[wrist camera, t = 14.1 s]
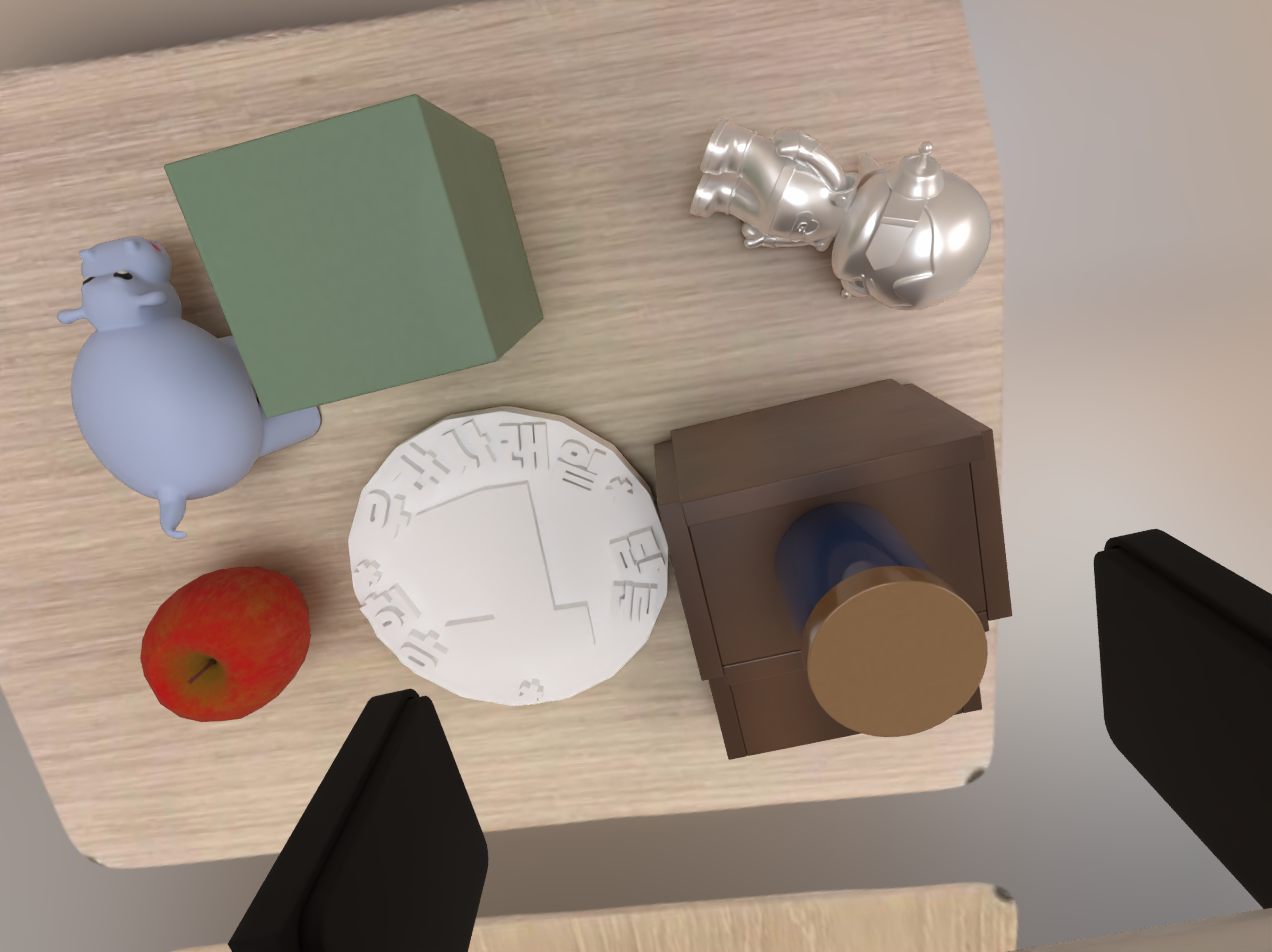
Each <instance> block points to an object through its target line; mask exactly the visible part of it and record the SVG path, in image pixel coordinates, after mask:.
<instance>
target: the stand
mask: <svg viewBox="0 0 1272 952" xmlns="http://www.w3.org/2000/svg"><path fill="white" fill-rule="evenodd" d="M164 169H165V171H166V174H167V176H168V178H169V181H170V183H171V186H172V188H173V191H174V193H175V196H176V198H177V201H178V203H179V205H180V208H181V210H182V213H183V215H184V218H185V220H186V223H187V225H188V228H189V230H190V232H191V235H192V237H193V240H194V242H195V245H196V247H197V250H198V252H199V254H200V257H201V259H202V262H203V264H204V267H205V269H206V272H207V274H208V277H209V279H210V281H211V284H212V286H213V289H214V291H215V294H216V296H217V299H218V301H219V303H220V306H221V308H222V311H223V313H224V316H225V318H226V321H227V323H228V326H229V328H230V330H231V333H232V335H233V338H234V340H235V343H236V345H237V348H238V350H239V353H240V355H241V357H242V360H243V362H244V365H245V367H246V370H247V372H248V375H249V377H250V379H251V382H252V384H253V387H254V389H255V392H256V394H257V397H258V399H259V402H260V404H261V406H262V409H263V411H264V414H265V416H266V418H271V417H275V416H279V415H283V414H287V413H291V412H295V411H299V410H303V409H307V408H311V407H315V406H319V405H323V404H327V403H331V402H335V401H339V400H343V399H347V398H351V397H355V396H359V395H363V394H367V393H371V392H375V391H379V390H383V389H387V388H391V387H395V386H399V385H403V384H407V383H411V382H415V381H419V380H423V379H427V378H431V377H435V376H439V375H443V374H447V373H451V372H455V371H459V370H463V369H467V368H471V367H475V366H479V365H483V364H487V363H491V362H495V361H497V360H498V359H499V358H501V357H502V356H503V355H504V354H505V353H506V352H507V351H508V350H509V349H510V348H511V347H513V346H514V345H515V344H516V343H517V342H518V341H519V340H520V339H521V338H522V337H524V336H525V335H526V334H527V333H528V332H529V331H530V330H531V329H532V328H533V327H534V326H536V325H537V324H538V323H539V322H540V321H541V320H542V319H543V314H542V311H541V307H540V304H539V300H538V297H537V293H536V289H535V286H534V282H533V279H532V275H531V272H530V268H529V265H528V261H527V257H526V254H525V250H524V247H523V243H522V240H521V236H520V233H519V229H518V225H517V222H516V218H515V215H514V211H513V208H512V204H511V201H510V197H509V193H508V190H507V186H506V183H505V179H504V176H503V172H502V168H501V165H500V161H499V158H498V154H497V151H496V147H495V144H494V141H493V139H491V138H489V137H487V136H486V135H484V134H482V133H481V132H479V131H477V130H476V129H474V128H472V127H471V126H469V125H467V124H465V123H464V122H462V121H460V120H459V119H457V118H455V117H454V116H452V115H450V114H449V113H447V112H445V111H443V110H442V109H440V108H438V107H437V106H435V105H433V104H432V103H430V102H428V101H427V100H425V99H423V98H422V97H420V96H418V95H416V94H414V95H410V96H407V97H403V98H399V99H396V100H392V101H389V102H385V103H382V104H378V105H375V106H371V107H368V108H364V109H361V110H357V111H353V112H350V113H346V114H343V115H339V116H336V117H332V118H329V119H325V120H322V121H318V122H315V123H311V124H307V125H304V126H300V127H297V128H293V129H290V130H286V131H283V132H279V133H276V134H272V135H268V136H265V137H261V138H258V139H254V140H251V141H247V142H244V143H240V144H237V145H233V146H230V147H226V148H222V149H219V150H215V151H212V152H208V153H205V154H201V155H198V156H194V157H191V158H187V159H184V160H180V161H176V162H173V163H169V164H166V165H164Z"/></svg>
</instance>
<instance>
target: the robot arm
mask: <svg viewBox="0 0 1272 952" xmlns="http://www.w3.org/2000/svg"><path fill="white" fill-rule="evenodd" d="M1094 575H1095V588H1096V604H1097V618H1098V634H1099V649H1100V662H1101V677H1102V693H1103V707H1104V720H1105V725H1106V728H1107V731H1108V733H1109V736H1110V738H1111V739H1112V741H1113V743H1114V744H1115V745H1116V747H1117V748H1118V750H1119V751H1120V752H1121V753H1122V754H1123V755H1124V756H1125V757H1126V758H1127V760H1128V761H1129V762H1130V763H1131V764H1132V765H1133V766H1134V767H1135V768H1136V769H1137V771H1139V773H1140V774H1141V775H1142V776H1143V777H1144V778H1145V779H1146V780H1147V781H1148V782H1149V784H1150V785H1151V786H1152V787H1153V788H1154V789H1155V790H1156V791H1157V792H1158V793H1159V795H1160V796H1161V797H1162V798H1163V799H1164V800H1165V801H1166V802H1167V803H1168V804H1169V806H1171V808H1172V809H1173V810H1174V811H1175V812H1176V813H1177V814H1178V815H1179V817H1181V819H1182V820H1183V821H1184V822H1185V823H1186V824H1187V825H1188V826H1189V827H1190V828H1191V830H1192V831H1193V832H1194V833H1195V834H1196V835H1197V836H1198V837H1199V838H1200V839H1201V841H1202V842H1203V843H1204V844H1205V845H1206V846H1207V847H1208V848H1209V849H1210V851H1211V852H1212V853H1213V854H1214V855H1215V856H1216V857H1217V858H1218V859H1219V860H1220V861H1221V863H1222V864H1223V865H1224V866H1225V867H1226V868H1227V869H1228V870H1229V871H1230V872H1231V873H1232V875H1234V877H1235V878H1236V879H1237V880H1238V881H1239V882H1240V883H1241V884H1242V885H1243V887H1245V889H1246V890H1247V891H1248V892H1249V893H1250V894H1251V895H1252V896H1253V898H1254V899H1255V900H1256V901H1257V902H1258V903H1259V904H1260V905H1261V906H1262V907H1263V909H1262V910H1255V911H1249V912H1242V913H1236V914H1230V915H1224V916H1218V917H1213V918H1206V919H1200V920H1194V921H1188V922H1183V923H1176V924H1170V925H1165V926H1158V927H1152V928H1146V929H1140V930H1134V931H1128V932H1122V933H1117V934H1110V935H1104V936H1098V937H1092V938H1086V939H1080V940H1074V941H1068V942H1062V943H1056V944H1050V945H1044V946H1038V947H1033V948H1026V949H1020V950H1014V951H1008V952H1272V594H1270V593H1268V592H1267V591H1265V590H1263V589H1261V588H1260V587H1258V586H1256V585H1255V584H1253V583H1251V582H1249V581H1248V580H1246V579H1244V578H1243V577H1241V576H1239V575H1237V574H1236V573H1234V572H1232V571H1231V570H1229V569H1227V568H1225V567H1224V566H1222V565H1220V564H1219V563H1217V562H1215V561H1213V560H1211V559H1210V558H1208V557H1206V556H1205V555H1203V554H1201V553H1200V552H1198V551H1196V550H1195V549H1193V548H1191V547H1189V546H1188V545H1186V544H1184V543H1182V542H1181V541H1179V540H1177V539H1175V538H1174V537H1172V536H1170V535H1169V534H1167V533H1165V532H1164V531H1161V530H1158V529H1151V530H1147V531H1142V532H1138V533H1133V534H1128V535H1124V536H1119V537H1114V538H1110V539H1109V540H1108V541H1107V542H1106V545H1105V548H1104V551H1101V552H1098V553H1097V554H1096V555H1095V558H1094ZM487 869H488V850H487V844H486V841H485V838H484V835H483V832H482V830H481V827H480V825H479V822H478V819H477V817H476V814H475V812H474V809H473V806H472V804H471V801H470V799H469V796H468V793H467V791H466V788H465V786H464V783H463V780H462V778H461V775H460V773H459V770H458V767H457V765H456V762H455V760H454V757H453V754H452V752H451V749H450V746H449V744H448V741H447V739H446V736H445V733H444V731H443V728H442V726H441V723H440V720H439V718H438V715H437V713H436V710H435V707H434V705H433V703H432V701H431V699H430V698H429V697H427V696H422V697H419V695H418V694H417V692H416V691H415V690H413V689H407V690H402V691H397V692H393V693H388V694H383V695H379V696H375V697H372V698H371V699H370V700H369V701H368V703H367V704H366V706H365V708H364V710H363V711H362V713H361V715H360V717H359V718H358V720H357V722H356V723H355V725H354V727H353V729H352V730H351V732H350V734H349V736H348V737H347V739H346V741H345V742H344V744H343V746H342V748H341V749H340V751H339V753H338V755H337V756H336V758H335V760H334V761H333V763H332V765H331V767H330V768H329V770H328V772H327V774H326V775H325V777H324V779H323V780H322V782H321V784H320V786H319V787H318V789H317V791H316V793H315V794H314V796H313V798H312V799H311V801H310V803H309V805H308V806H307V808H306V810H305V812H304V813H303V815H302V817H301V818H300V820H299V822H298V824H297V825H296V827H295V829H294V831H293V832H292V834H291V836H290V837H289V839H288V841H287V843H286V844H285V846H284V848H283V850H282V851H281V853H280V855H279V856H278V858H277V860H276V862H275V863H274V865H273V867H272V869H271V870H270V872H269V874H268V875H267V877H266V879H265V881H264V882H263V884H262V886H261V888H260V889H259V891H258V893H257V895H256V896H255V898H254V900H253V901H252V903H251V905H250V907H249V908H248V910H247V912H246V913H245V915H244V917H243V919H242V920H241V922H240V924H239V926H238V927H237V929H236V931H235V933H234V934H233V936H232V938H231V939H230V941H229V943H228V945H229V947H230V949H231V951H232V952H468V948H469V944H470V940H471V936H472V932H473V927H474V923H475V919H476V915H477V911H478V906H479V903H480V898H481V894H482V890H483V886H484V881H485V878H486V873H487Z"/></svg>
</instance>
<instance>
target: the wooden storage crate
mask: <svg viewBox="0 0 1272 952" xmlns="http://www.w3.org/2000/svg"><path fill="white" fill-rule="evenodd" d="M671 435H672V440H671V441H667V442H663V443H659V444H655V445H654V449H655V468H656V486H657V504H658V510H659V514H660V518H661V522H662V526H663V530H664V534H665V538H666V542H667V545H668V549H669V553H670V557H671V561H672V565H673V569H674V573H675V577H676V581H677V585H678V589H679V593H680V597H681V600H682V604H683V608H684V612H685V616H686V620H687V624H688V628H689V632H690V636H691V640H692V644H693V648H694V651H695V655H696V659H697V663H698V667H699V671H700V675H701V679H702V681H703V680H709V684H710V688H711V692H712V696H713V699H714V703H715V707H716V711H717V715H718V719H719V723H720V727H721V731H722V735H723V739H724V743H725V747H726V751H727V755H728V759H729V760H730V759H735V758H740V757H745V756H750V755H755V754H760V753H765V752H770V751H775V750H780V749H785V748H790V747H795V746H800V745H805V744H810V743H815V742H820V741H825V740H830V739H835V738H840V737H845V736H850V735H855V734H860V732H857V731H854V730H852V729H850V728H847V727H845V726H844V725H842V724H840V723H839V722H837V721H836V720H835V719H833V718H832V717H831V716H830V715H829V714H827V712H826V711H825V710H824V709H823V708H822V707H821V705H820V704H819V702H818V701H817V699H816V698H815V696H814V693H813V691H812V689H811V686H810V684H809V681H808V678H807V676H806V673H805V670H804V666H803V663H802V656H801V645H800V643H799V640H798V637H797V635H796V632H795V630H794V627H793V624H792V622H791V619H790V616H789V614H788V611H787V608H786V606H785V603H784V601H783V598H782V595H781V593H780V590H779V587H778V585H777V581H776V578H775V570H774V566H775V556H776V552H777V549H778V546H779V544H780V541H781V539H782V538H783V536H784V534H785V533H786V531H787V530H788V529H789V528H790V527H791V525H792V524H794V523H795V522H796V521H797V520H798V519H799V518H800V517H802V516H803V515H805V514H806V513H808V512H810V511H812V510H814V509H816V508H818V507H821V506H824V505H828V504H833V503H845V502H847V503H857V504H861V505H865V506H868V507H871V508H873V509H875V510H877V511H879V512H880V513H882V514H883V515H885V516H886V517H887V518H888V519H889V520H890V521H891V522H892V523H893V524H894V525H895V527H896V528H897V529H898V530H899V531H900V532H901V534H902V535H903V536H904V537H905V538H906V540H907V541H908V542H909V543H910V544H911V545H912V547H913V548H914V549H915V550H916V551H917V553H918V554H919V555H920V556H921V557H922V558H923V560H924V561H925V562H926V563H927V564H928V565H929V567H930V568H931V569H932V570H933V571H934V573H935V574H936V575H937V576H938V577H940V578H942V579H943V580H945V581H946V582H948V583H949V584H950V585H951V586H952V587H953V588H954V589H956V590H957V591H958V593H959V594H960V595H961V596H962V597H963V598H964V600H965V601H966V602H967V603H968V604H969V605H970V607H971V608H972V609H973V610H974V612H975V613H976V614H977V616H978V618H979V619H980V621H981V623H982V626H983V628H984V631H985V632H987V631H989V625H988V620H989V621H990V620H995V619H1000V618H1005V617H1009V616H1012V609H1011V600H1010V591H1009V581H1008V572H1007V562H1006V553H1005V543H1004V534H1003V524H1002V515H1001V506H1000V496H999V487H998V477H997V468H996V459H995V449H994V440H993V430H992V429H991V428H989V427H987V426H985V425H984V424H982V423H980V422H978V421H977V420H975V419H973V418H971V417H970V416H968V415H966V414H964V413H963V412H961V411H959V410H957V409H956V408H954V407H952V406H951V405H949V404H947V403H945V402H944V401H942V400H940V399H938V398H937V397H935V396H933V395H931V394H930V393H928V392H926V391H924V390H923V389H921V388H919V387H918V386H916V385H914V384H909V385H904V386H902V385H901V384H899V383H897V382H896V381H894V380H892V379H888V380H884V381H879V382H875V383H871V384H867V385H863V386H858V387H854V388H850V389H846V390H841V391H837V392H833V393H829V394H825V395H820V396H816V397H812V398H808V399H803V400H799V401H795V402H791V403H787V404H782V405H778V406H774V407H770V408H766V409H761V410H757V411H753V412H749V413H744V414H740V415H736V416H732V417H728V418H723V419H719V420H715V421H711V422H707V423H702V424H698V425H694V426H690V427H685V428H681V429H677V430H673V431H671ZM981 709H982V703H981V695H980V687H979V686H978V688H977V689H976V691H975V693H974V694H973V695H972V697H971V698H970V699H969V701H968V702H967V703H966V704H965V705H964V706H963V707H962V708H961V709H960V710H959V711H958V712H956V713H955V714H954V715H956V714H961V713H962V712H963V713H966V712H971V711H976V710H981Z"/></svg>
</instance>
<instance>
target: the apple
mask: <svg viewBox="0 0 1272 952" xmlns="http://www.w3.org/2000/svg"><path fill="white" fill-rule="evenodd" d="M310 637H311V634H310V625H309V612H308V607H307V605H306V602H305V600H304V597H303V595H302V593H301V592H300V590H299V589H298V588H297V586H296V585H295V584H294V583H293V581H292V580H291V579H289V578H288V577H286V576H285V575H283V574H281V573H279V572H275V571H271V570H267V569H263V568H260V567H237V568H228V569H220V570H217V571H214V572H210V573H207V574H204V575H202V576H200V577H198V578H197V579H195V580H193V581H192V582H190V583H188V584H187V585H185V586H183V587H182V588H180V589H178V590H177V591H176V592H175V593H174V594H173V595H172V596H171V597H169V598H168V599H167V600H166V601H165V602H164V603H163V604H162V605H161V606H160V607H159V609H158V611H157V612H156V614H155V615H154V617H153V618H152V620H151V622H150V623H149V625H148V627H147V629H146V632H145V634H144V637H143V639H142V649H141V658H140V659H141V663H142V668H143V672H144V676H145V678H146V680H147V681H148V683H149V685H150V687H151V688H152V690H153V692H154V694H155V695H156V697H157V699H158V701H159V702H160V704H162V705H163V706H164V707H166V708H167V709H169V710H170V711H172V712H173V713H175V714H176V715H178V716H179V717H182V718H186V719H191V720H195V721H199V722H210V721H226V720H234V719H241V718H243V717H245V716H247V715H249V714H251V713H253V712H254V711H256V710H258V709H260V708H262V707H263V706H265V705H266V704H267V703H269V702H270V701H272V700H273V699H274V698H276V697H277V696H278V695H279V694H280V693H281V692H282V691H283V690H284V688H285V687H286V686H287V685H288V684H289V683H290V682H291V680H292V679H293V678H294V677H295V675H296V674H297V672H298V670H299V669H300V667H301V665H302V664H303V662H304V660H305V657H306V654H307V651H308V648H309V643H310Z"/></svg>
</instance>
